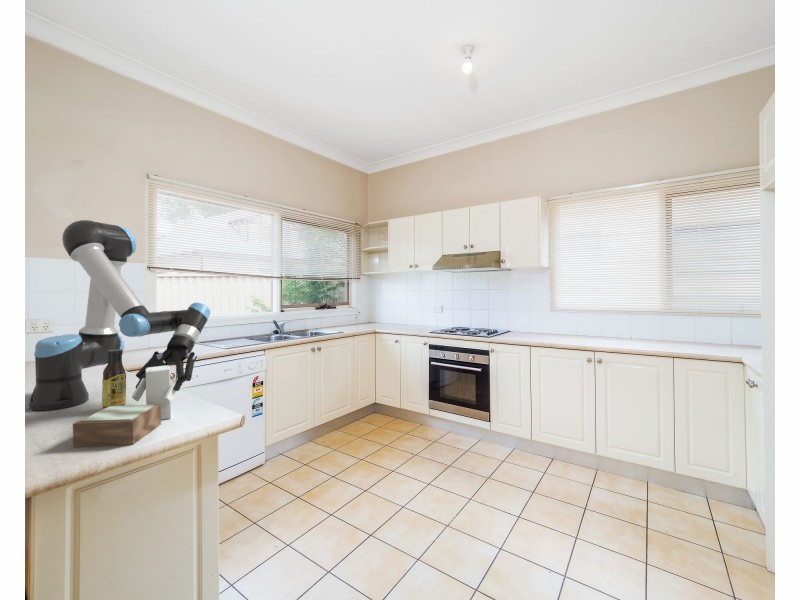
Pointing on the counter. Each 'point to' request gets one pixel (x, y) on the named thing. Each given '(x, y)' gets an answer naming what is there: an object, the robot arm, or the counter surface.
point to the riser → (116, 425)
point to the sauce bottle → (114, 380)
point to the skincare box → (158, 388)
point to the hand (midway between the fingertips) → (151, 399)
